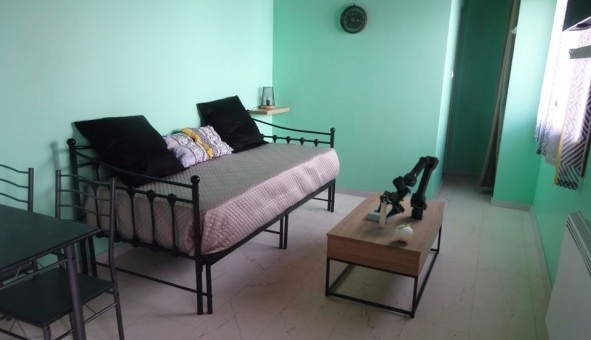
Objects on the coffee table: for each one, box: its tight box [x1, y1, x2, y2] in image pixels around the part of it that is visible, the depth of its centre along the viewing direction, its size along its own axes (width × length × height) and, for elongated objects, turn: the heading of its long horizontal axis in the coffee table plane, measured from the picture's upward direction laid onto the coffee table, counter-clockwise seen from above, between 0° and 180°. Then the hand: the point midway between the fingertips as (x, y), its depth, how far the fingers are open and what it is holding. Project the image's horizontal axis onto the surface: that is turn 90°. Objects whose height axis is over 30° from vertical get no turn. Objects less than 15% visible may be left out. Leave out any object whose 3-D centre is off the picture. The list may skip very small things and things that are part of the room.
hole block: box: [367, 205, 396, 224], centre depth 246 cm, size 12×16×4 cm
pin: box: [378, 203, 388, 229], centre depth 230 cm, size 3×3×14 cm
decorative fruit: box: [394, 224, 414, 242], centre depth 211 cm, size 9×8×10 cm
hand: (381, 214), depth 230 cm, fingers open, 9 cm apart
